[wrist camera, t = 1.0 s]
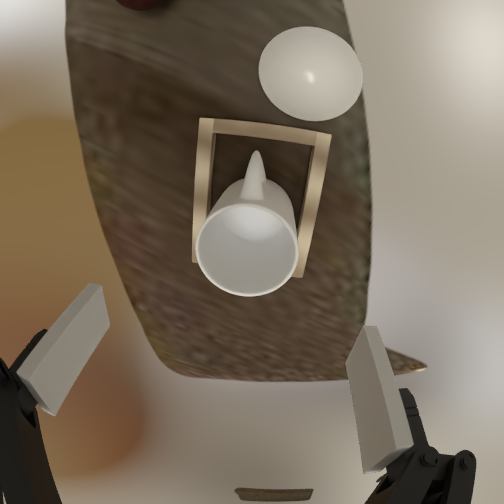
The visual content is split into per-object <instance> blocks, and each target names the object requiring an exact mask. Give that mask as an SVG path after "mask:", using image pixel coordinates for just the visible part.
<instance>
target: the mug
mask: <svg viewBox="0 0 504 504" xmlns="http://www.w3.org/2000/svg"><path fill="white" fill-rule="evenodd" d="M195 250H196V257H197V261H198V263H199V266H200V268H201V270H202V271H203V273H204V274H205V276H206V277H207V278H208V279H209V280H210V281H211V282H212V283H213V284H215V285H216V286H217V287H219V288H220V289H222V290H224V291H226V292H229V293H232V294H235V295H240V296H259V295H264V294H267V293H270V292H272V291H274V290H276V289H278V288H279V287H281V286H282V285H283V284H284V283H285V282H286V281H287V280H288V279H289V278H290V277H291V276H292V274H293V272H294V270H295V268H296V266H297V262H298V258H299V246H298V239H297V232H296V225H295V219H294V212H293V207H292V204H291V201H290V198H289V197H288V195H287V193H286V192H285V191H284V190H283V189H282V188H281V187H280V186H279V185H278V184H276V183H275V182H273V181H271V180H269V179H266V175H265V170H264V166H263V161H262V158H261V155H260V153H259V151H254V153H253V154H252V156H251V159H250V162H249V165H248V168H247V172H246V176H245V178H244V179H241V180H238V181H236V182H234V183H233V184H231V185H230V186H229V187H228V188H227V189H226V190H225V191H224V192H223V194H222V195H221V197H220V198H219V200H218V201H217V203H216V204H215V206H214V207H213V209H212V210H211V212H210V213H209V215H208V216H207V218H206V219H205V221H204V222H203V224H202V226H201V227H200V229H199V231H198V234H197V238H196V244H195Z"/></svg>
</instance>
